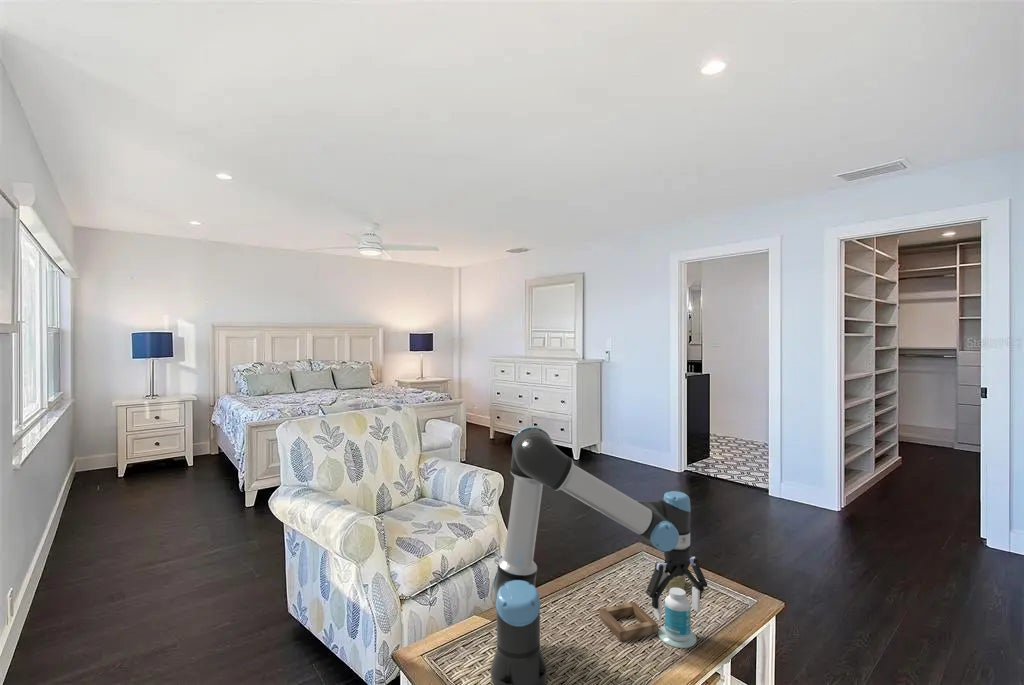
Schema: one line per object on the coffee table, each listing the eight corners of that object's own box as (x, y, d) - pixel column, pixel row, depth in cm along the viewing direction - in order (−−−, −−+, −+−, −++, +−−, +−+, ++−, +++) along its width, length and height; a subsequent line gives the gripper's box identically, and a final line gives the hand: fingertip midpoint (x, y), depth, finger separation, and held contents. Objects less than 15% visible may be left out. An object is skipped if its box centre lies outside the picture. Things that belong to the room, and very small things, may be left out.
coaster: (672, 651, 145) (672, 650, 145) (651, 629, 156) (651, 628, 156) (704, 643, 149) (704, 642, 149) (681, 623, 159) (681, 621, 159)
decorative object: (657, 595, 182) (660, 581, 176) (657, 570, 190) (660, 555, 184) (684, 601, 180) (688, 586, 174) (683, 574, 188) (687, 560, 182)
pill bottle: (692, 644, 148) (692, 599, 148) (666, 641, 150) (666, 596, 149) (688, 629, 155) (688, 586, 155) (663, 626, 157) (663, 583, 156)
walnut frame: (620, 641, 150) (620, 632, 150) (599, 617, 163) (599, 609, 163) (657, 632, 154) (657, 623, 154) (634, 610, 167) (634, 602, 167)
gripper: (648, 556, 144) (648, 628, 145) (719, 543, 152) (719, 613, 152) (634, 545, 151) (634, 614, 152) (703, 534, 159) (703, 600, 160)
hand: (677, 614), depth 152 cm, fingers open, 13 cm apart
